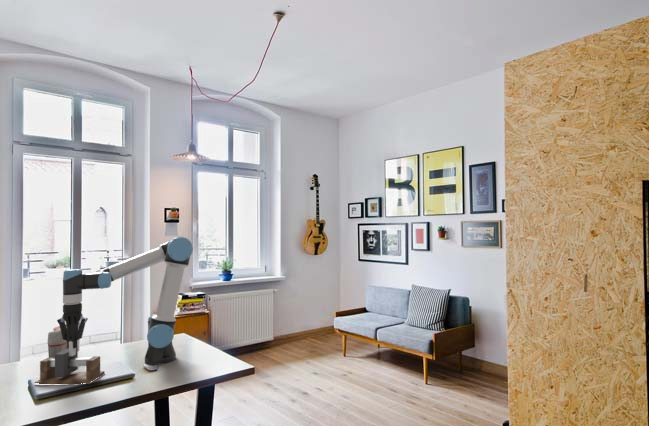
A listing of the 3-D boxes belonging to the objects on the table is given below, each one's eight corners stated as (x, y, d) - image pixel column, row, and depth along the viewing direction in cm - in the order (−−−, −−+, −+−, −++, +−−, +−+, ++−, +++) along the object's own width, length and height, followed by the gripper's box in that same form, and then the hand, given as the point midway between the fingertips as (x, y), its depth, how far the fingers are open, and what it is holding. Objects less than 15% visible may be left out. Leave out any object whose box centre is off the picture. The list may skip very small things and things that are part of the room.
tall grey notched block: (77, 369, 194) (77, 347, 195) (63, 377, 184) (63, 354, 185) (69, 369, 194) (69, 348, 195) (54, 377, 184) (54, 354, 185)
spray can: (58, 373, 199) (58, 331, 199) (43, 372, 200) (44, 330, 201) (72, 367, 207) (72, 327, 208) (58, 366, 208) (58, 326, 209)
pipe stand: (104, 374, 196) (104, 353, 196) (88, 384, 183) (88, 362, 183) (54, 375, 196) (54, 354, 196) (34, 385, 183) (34, 363, 183)
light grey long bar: (95, 364, 191) (95, 356, 191) (91, 366, 188) (91, 358, 188) (50, 365, 192) (50, 357, 192) (45, 367, 188) (45, 359, 188)
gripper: (91, 301, 194) (91, 352, 193) (63, 302, 194) (63, 353, 193) (81, 304, 187) (81, 357, 186) (53, 305, 187) (52, 358, 186)
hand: (72, 355), depth 190 cm, fingers closed
